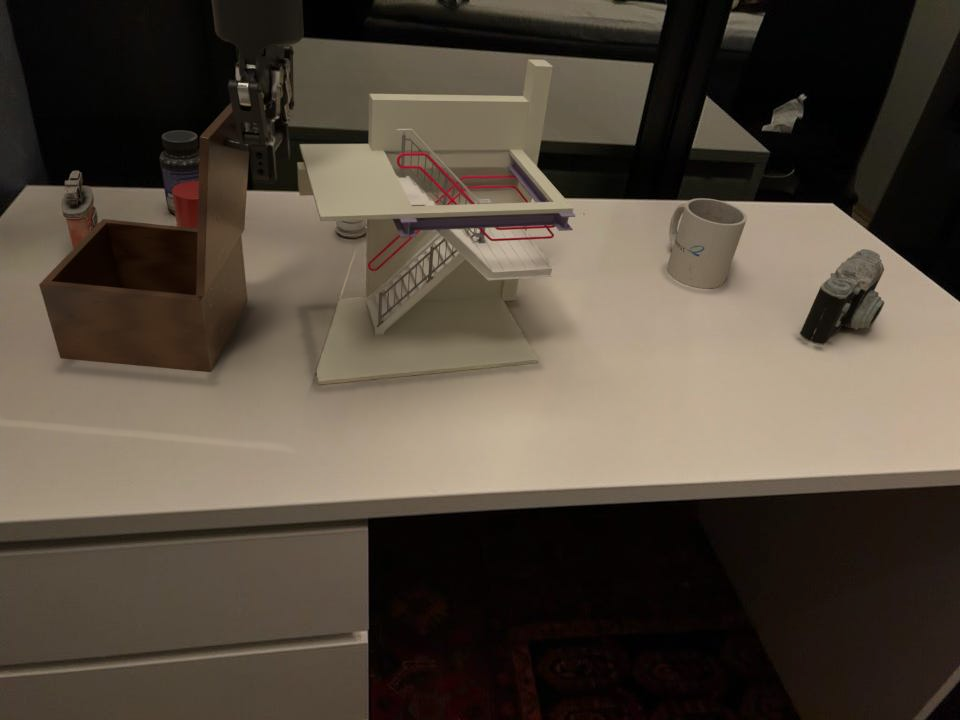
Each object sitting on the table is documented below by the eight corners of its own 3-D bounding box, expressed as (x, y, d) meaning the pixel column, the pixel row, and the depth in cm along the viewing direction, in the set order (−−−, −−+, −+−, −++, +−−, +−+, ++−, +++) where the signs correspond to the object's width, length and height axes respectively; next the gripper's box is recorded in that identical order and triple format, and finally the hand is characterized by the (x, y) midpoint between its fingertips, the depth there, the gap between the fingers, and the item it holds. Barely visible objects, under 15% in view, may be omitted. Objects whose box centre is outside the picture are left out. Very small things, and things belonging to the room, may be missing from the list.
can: (174, 252, 98) (165, 196, 94) (188, 232, 103) (180, 178, 98) (216, 256, 99) (209, 201, 94) (228, 237, 103) (223, 183, 99)
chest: (61, 364, 78) (38, 284, 72) (118, 292, 90) (102, 218, 84) (211, 377, 79) (200, 299, 73) (248, 304, 90) (241, 232, 85)
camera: (844, 358, 95) (877, 292, 89) (794, 335, 98) (823, 269, 92) (881, 318, 104) (913, 256, 98) (835, 298, 108) (863, 237, 102)
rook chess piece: (350, 222, 111) (350, 171, 106) (372, 232, 109) (373, 181, 104) (329, 231, 108) (328, 180, 103) (351, 242, 106) (351, 190, 101)
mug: (735, 288, 107) (757, 225, 101) (680, 288, 105) (700, 225, 99) (699, 247, 117) (718, 188, 111) (649, 247, 115) (665, 187, 109)
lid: (199, 136, 63) (260, 150, 64) (245, 85, 75) (297, 98, 75) (195, 295, 72) (249, 306, 73) (237, 228, 84) (283, 238, 85)
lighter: (100, 266, 94) (84, 193, 88) (70, 268, 93) (52, 194, 87) (106, 237, 100) (91, 166, 94) (79, 238, 99) (62, 166, 93)
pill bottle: (217, 214, 108) (209, 141, 102) (174, 221, 105) (163, 146, 99) (203, 197, 112) (194, 126, 106) (162, 204, 109) (150, 130, 103)
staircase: (321, 397, 78) (313, 114, 60) (302, 304, 92) (291, 52, 74) (559, 372, 86) (615, 116, 68) (509, 290, 100) (544, 60, 82)
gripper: (280, 0, 57) (294, 204, 67) (316, -31, 68) (323, 147, 78) (181, -9, 56) (211, 197, 67) (234, -39, 68) (252, 141, 78)
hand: (272, 169), depth 72 cm, fingers closed on lid, 5 cm apart
